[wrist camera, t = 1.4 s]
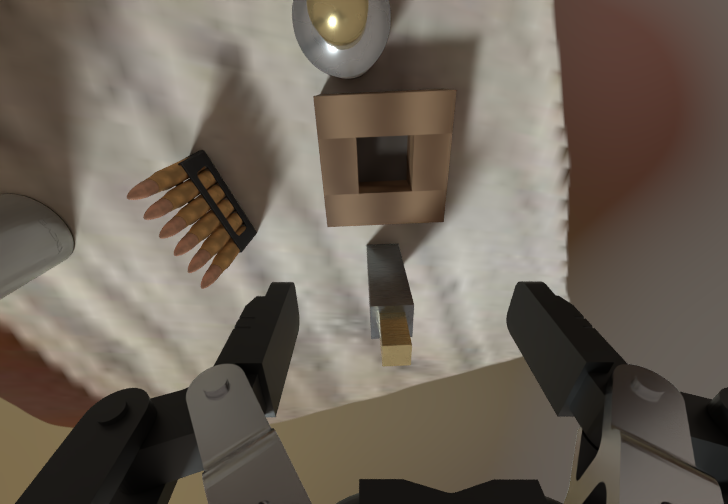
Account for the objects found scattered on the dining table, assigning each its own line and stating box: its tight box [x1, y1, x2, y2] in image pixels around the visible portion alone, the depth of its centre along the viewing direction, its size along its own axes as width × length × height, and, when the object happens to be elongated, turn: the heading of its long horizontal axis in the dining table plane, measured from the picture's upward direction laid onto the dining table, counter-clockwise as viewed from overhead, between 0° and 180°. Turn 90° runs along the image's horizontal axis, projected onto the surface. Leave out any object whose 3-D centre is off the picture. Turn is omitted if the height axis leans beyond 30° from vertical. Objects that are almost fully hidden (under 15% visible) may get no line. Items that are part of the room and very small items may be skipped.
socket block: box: [314, 89, 457, 227], centre depth 30 cm, size 12×12×5 cm
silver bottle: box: [292, 0, 391, 79], centre depth 21 cm, size 6×6×16 cm
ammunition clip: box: [127, 150, 257, 289], centre depth 29 cm, size 11×2×12 cm, turn 22°
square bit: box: [367, 244, 414, 366], centre depth 32 cm, size 4×4×16 cm
